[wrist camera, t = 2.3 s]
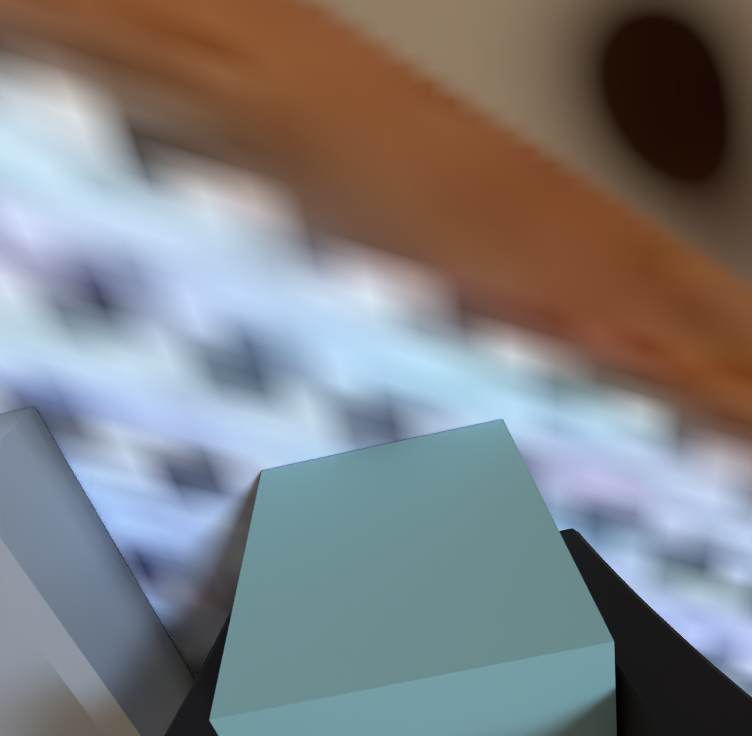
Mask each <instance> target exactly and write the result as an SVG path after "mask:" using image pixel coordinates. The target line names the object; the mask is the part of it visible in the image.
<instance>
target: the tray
mask: <svg viewBox="0 0 752 736" xmlns="http://www.w3.org/2000/svg"><path fill="white" fill-rule="evenodd" d="M194 681H195V680H194V678H193V677H192V675H191V673H190V672H189V670H188V668H187V666H186V665H185V663H184V661H183V660H182V658H181V656H180V654H179V653H178V651H177V649H176V648H175V646H174V644H173V643H172V641H171V639H170V637H169V636H168V634H167V632H166V631H165V629H164V627H163V625H162V624H161V622H160V620H159V619H158V617H157V615H156V613H155V612H154V610H153V608H152V607H151V605H150V603H149V602H148V600H147V598H146V596H145V595H144V593H143V591H142V590H141V588H140V586H139V584H138V583H137V581H136V579H135V578H134V576H133V574H132V573H131V571H130V569H129V567H128V566H127V564H126V562H125V561H124V559H123V557H122V555H121V554H120V552H119V550H118V549H117V547H116V545H115V544H114V542H113V540H112V538H111V537H110V535H109V533H108V532H107V530H106V528H105V526H104V525H103V523H102V521H101V520H100V518H99V516H98V515H97V513H96V511H95V509H94V508H93V506H92V504H91V503H90V501H89V499H88V497H87V496H86V494H85V492H84V491H83V489H82V487H81V485H80V484H79V482H78V480H77V479H76V477H75V475H74V474H73V472H72V470H71V468H70V467H69V465H68V463H67V462H66V460H65V458H64V456H63V455H62V453H61V451H60V450H59V448H58V446H57V445H56V443H55V441H54V439H53V438H52V436H51V434H50V433H49V431H48V429H47V427H46V426H45V424H44V422H43V421H42V419H41V417H40V416H39V414H38V412H37V410H36V409H35V407H30V408H25V409H21V410H17V411H12V412H8V413H3V414H0V736H164V735H165V733H166V731H167V730H168V728H169V726H170V724H171V722H172V721H173V719H174V717H175V715H176V713H177V712H178V710H179V708H180V706H181V704H182V703H183V701H184V699H185V697H186V695H187V694H188V692H189V690H190V688H191V686H192V684H193V683H194Z"/></svg>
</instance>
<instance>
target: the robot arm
mask: <svg viewBox="0 0 752 736" xmlns="http://www.w3.org/2000/svg"><path fill="white" fill-rule="evenodd" d="M559 532H560V534H561V536H562V538H563V540H564V542H565V544H566V546H567V548H568V550H569V552H570V554H571V556H572V558H573V560H574V562H575V564H576V566H577V568H578V570H579V572H580V574H581V576H582V578H583V580H584V582H585V584H586V586H587V588H588V590H589V592H590V594H591V596H592V598H593V600H594V602H595V604H596V606H597V608H598V610H599V612H600V614H601V616H602V618H603V620H604V622H605V624H606V626H607V628H608V630H609V632H610V634H611V636H612V638H613V640H614V651H615V687H616V722H617V736H752V697H751V696H749V695H748V694H747V693H746V692H745V691H743V690H742V689H741V688H740V687H739V686H738V685H736V684H735V683H734V682H733V681H732V680H731V679H729V678H728V677H727V676H726V675H725V674H724V673H722V672H721V671H720V670H719V669H718V668H716V667H715V666H714V665H713V664H712V663H711V662H710V661H708V660H707V659H706V658H705V657H704V656H703V655H702V654H701V653H699V652H698V651H697V650H696V649H695V648H694V647H693V646H692V645H690V644H689V643H688V642H687V641H686V640H685V639H684V638H683V637H682V636H681V635H680V634H679V633H678V632H676V631H675V630H674V629H673V628H672V627H671V626H670V625H669V624H668V623H667V622H666V621H665V620H664V619H663V618H661V617H660V616H659V615H658V614H657V613H656V612H655V611H654V610H653V609H652V608H651V607H650V606H649V605H648V604H647V603H646V602H645V601H644V600H643V599H642V598H640V597H639V596H638V595H637V594H636V593H635V592H634V591H633V590H632V589H631V588H630V587H629V586H628V585H627V584H626V582H625V581H624V580H623V579H622V578H621V577H620V576H619V575H618V574H617V573H616V572H615V571H614V570H613V569H612V568H611V567H610V566H609V565H608V564H607V563H606V562H605V561H604V560H603V559H602V558H601V557H600V555H599V554H598V553H597V552H596V551H595V550H594V549H593V548H592V547H591V546H590V544H589V543H588V542H587V541H586V540H585V539H584V538H583V537H582V535H581V534H580V533H579V532H577V531H576V530H574V529H567V530H562V531H559ZM232 609H233V607H232ZM232 609H231V611H230V613H229V615H228V617H227V619H226V621H225V623H224V625H223V627H222V629H221V631H220V633H219V635H218V637H217V639H216V641H215V643H214V645H213V647H212V648H211V650H210V652H209V654H208V656H207V658H206V660H205V662H204V664H203V666H202V668H201V669H200V671H199V673H198V675H197V677H196V679H195V681H194V683H193V684H192V686H191V688H190V690H189V692H188V694H187V695H186V697H185V699H184V701H183V703H182V704H181V706H180V708H179V710H178V712H177V713H176V715H175V717H174V719H173V721H172V722H171V724H170V726H169V728H168V730H167V731H166V733H165V735H164V736H218V734H217V732H216V731H215V729H214V727H213V726H212V724H211V722H210V721H209V719H210V714H211V709H212V704H213V700H214V695H215V690H216V685H217V681H218V676H219V671H220V666H221V662H222V657H223V652H224V647H225V643H226V638H227V633H228V628H229V623H230V619H231V614H232Z"/></svg>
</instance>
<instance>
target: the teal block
mask: <svg viewBox="0 0 752 736" xmlns="http://www.w3.org/2000/svg"><path fill="white" fill-rule="evenodd" d="M209 721H210V722H211V724H212V726H213V727H214V729H215V731H216V732H217V734H218V736H617V722H616V687H615V651H614V640H613V638H612V636H611V634H610V632H609V630H608V628H607V626H606V624H605V622H604V620H603V618H602V616H601V614H600V612H599V610H598V608H597V606H596V604H595V602H594V600H593V598H592V596H591V594H590V592H589V590H588V588H587V586H586V584H585V582H584V580H583V578H582V576H581V574H580V572H579V570H578V568H577V566H576V564H575V562H574V560H573V558H572V556H571V554H570V552H569V550H568V548H567V546H566V544H565V542H564V540H563V538H562V536H561V534H560V532H559V530H558V528H557V526H556V524H555V522H554V520H553V518H552V516H551V514H550V512H549V510H548V508H547V506H546V504H545V502H544V500H543V498H542V496H541V494H540V492H539V490H538V488H537V486H536V484H535V482H534V480H533V478H532V476H531V474H530V472H529V470H528V468H527V466H526V464H525V462H524V460H523V458H522V456H521V454H520V452H519V450H518V448H517V446H516V444H515V442H514V440H513V438H512V436H511V434H510V432H509V430H508V428H507V426H506V424H505V422H504V420H503V419H501V420H496V421H491V422H487V423H482V424H477V425H473V426H468V427H463V428H459V429H454V430H449V431H445V432H440V433H435V434H431V435H426V436H421V437H417V438H412V439H407V440H403V441H398V442H393V443H389V444H384V445H379V446H375V447H370V448H365V449H361V450H356V451H351V452H347V453H342V454H338V455H333V456H328V457H324V458H319V459H314V460H310V461H305V462H300V463H296V464H291V465H286V466H282V467H277V468H272V469H268V470H263V471H261V476H260V481H259V486H258V490H257V495H256V500H255V505H254V509H253V514H252V519H251V524H250V528H249V533H248V538H247V543H246V547H245V552H244V557H243V562H242V566H241V571H240V576H239V581H238V585H237V590H236V595H235V600H234V604H233V609H232V614H231V619H230V623H229V628H228V633H227V638H226V643H225V647H224V652H223V657H222V662H221V666H220V671H219V676H218V681H217V685H216V690H215V695H214V700H213V704H212V709H211V714H210V719H209Z"/></svg>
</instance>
